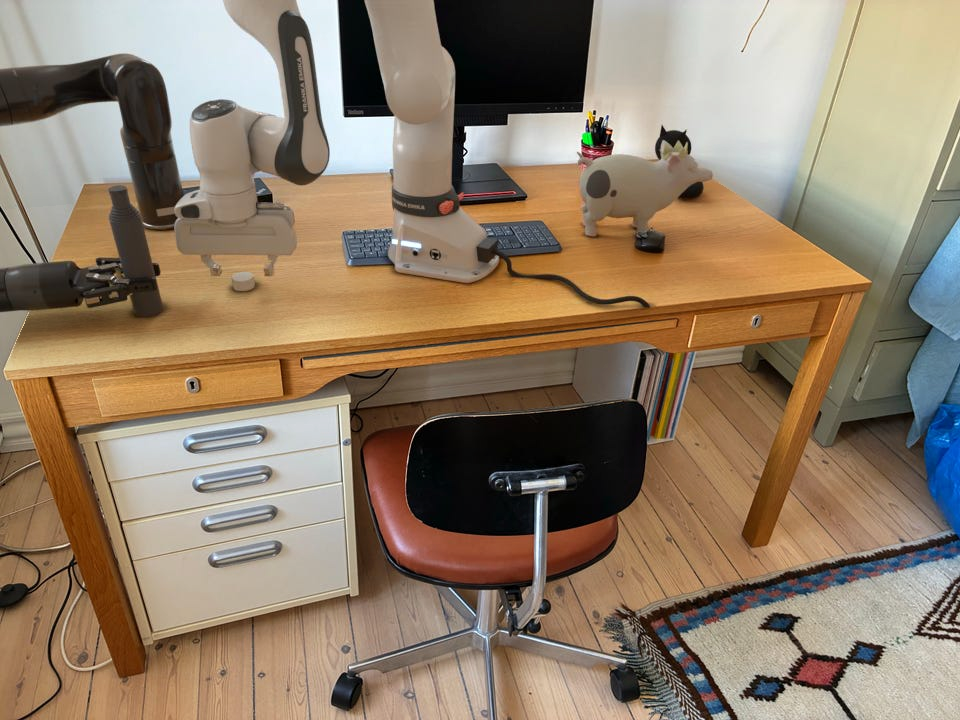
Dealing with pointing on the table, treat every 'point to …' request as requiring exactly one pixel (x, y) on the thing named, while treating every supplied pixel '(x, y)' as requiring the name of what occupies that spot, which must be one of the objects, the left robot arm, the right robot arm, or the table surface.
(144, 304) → the bottle
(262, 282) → the table surface
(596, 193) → the figurine
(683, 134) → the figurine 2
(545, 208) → the table surface
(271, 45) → the right robot arm
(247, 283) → the cap
